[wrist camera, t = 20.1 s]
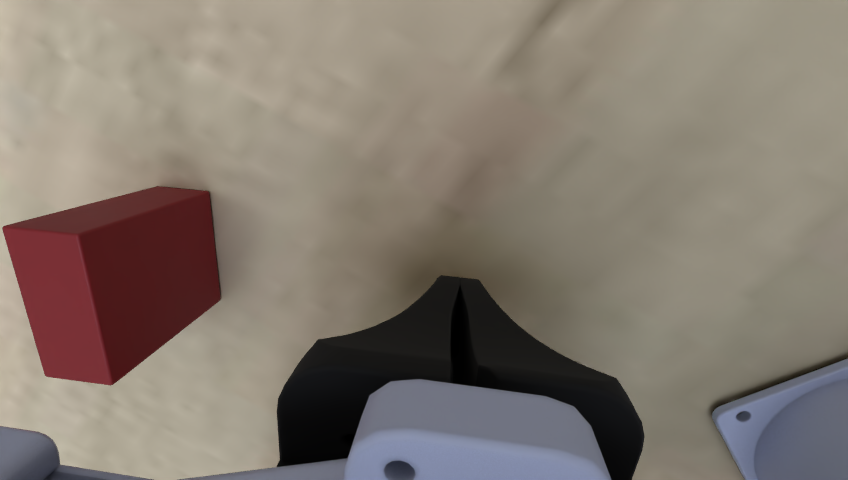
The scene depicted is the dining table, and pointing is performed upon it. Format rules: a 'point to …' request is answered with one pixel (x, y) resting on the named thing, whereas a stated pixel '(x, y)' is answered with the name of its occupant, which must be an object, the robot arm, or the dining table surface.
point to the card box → (114, 279)
